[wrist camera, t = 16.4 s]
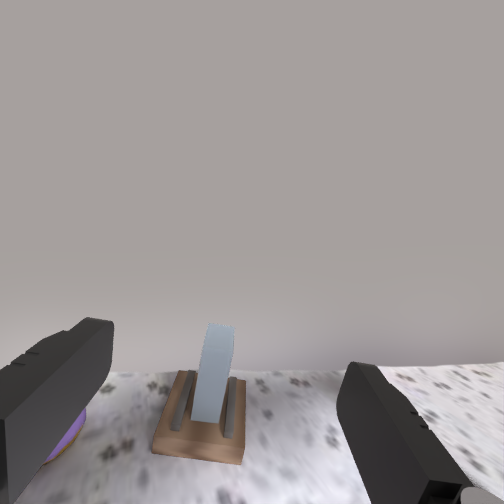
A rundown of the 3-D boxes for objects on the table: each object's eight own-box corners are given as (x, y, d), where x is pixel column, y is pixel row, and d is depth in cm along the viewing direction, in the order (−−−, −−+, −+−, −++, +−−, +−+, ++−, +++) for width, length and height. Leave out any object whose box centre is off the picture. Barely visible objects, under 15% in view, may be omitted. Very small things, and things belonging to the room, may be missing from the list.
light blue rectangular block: (221, 390, 41) (234, 326, 39) (218, 423, 36) (233, 351, 33) (197, 387, 41) (208, 322, 38) (189, 420, 35) (202, 347, 32)
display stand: (242, 394, 45) (247, 375, 44) (240, 465, 34) (246, 441, 33) (176, 384, 45) (179, 364, 44) (151, 453, 33) (154, 428, 32)
